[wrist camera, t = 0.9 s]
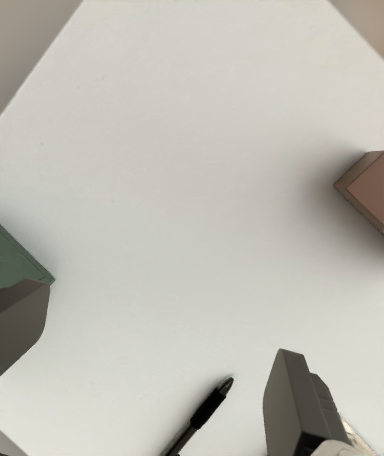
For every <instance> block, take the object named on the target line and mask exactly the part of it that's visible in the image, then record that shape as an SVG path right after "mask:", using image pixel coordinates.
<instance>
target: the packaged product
mask: <svg viewBox="0 0 384 456" xmlns="http://www.w3.org/2000/svg"><path fill="white" fill-rule="evenodd" d="M340 418H341V417H340ZM341 421H342V423H343V426H344V428H345V431H346V433H347V435H348V438H349V440H350V443H351V445H352V446H353V447H354V448H356V449H357V450H359V451H360V452H362V453H363V454H364V455H365V456H377V455H376V454H375V453H374V452H373V451H372V450H371V449H370V448H369V447H368V446H367V445H366V443H365V442H364V441H363V440H362V439H361V438H360V437H359V436H358V435H357V434H356V433H355V432H354V431H353V429H352V428H351V427H350V426H349V425H348V424H347V423H346V422H345V421H344V420H343V419H342V418H341Z"/></svg>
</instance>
